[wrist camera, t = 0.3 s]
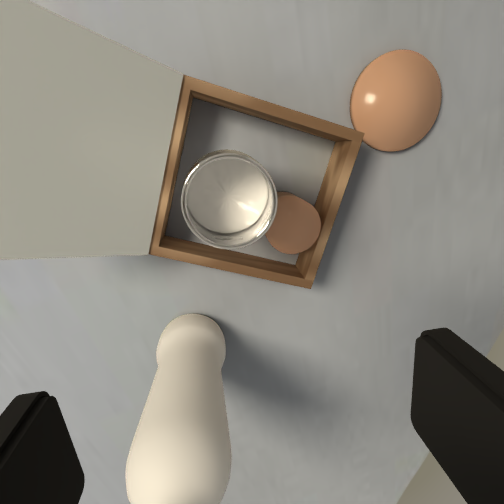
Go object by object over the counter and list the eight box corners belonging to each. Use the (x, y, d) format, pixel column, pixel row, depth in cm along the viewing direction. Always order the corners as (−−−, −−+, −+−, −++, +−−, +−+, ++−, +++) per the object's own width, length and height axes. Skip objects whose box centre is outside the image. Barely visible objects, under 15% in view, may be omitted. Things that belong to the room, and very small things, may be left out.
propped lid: (35, 36, 30) (-150, -83, 15) (187, 84, 33) (165, 26, 17) (21, 212, 35) (-133, 262, 19) (156, 242, 37) (115, 307, 22)
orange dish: (369, 37, 33) (373, 35, 33) (451, 69, 35) (456, 67, 35) (337, 137, 36) (339, 136, 35) (415, 161, 38) (419, 161, 37)
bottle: (157, 362, 42) (41, 808, 14) (164, 306, 40) (43, 698, 11) (219, 367, 43) (232, 784, 15) (229, 313, 41) (268, 682, 13)
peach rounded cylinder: (265, 186, 37) (274, 192, 31) (310, 198, 38) (328, 207, 32) (252, 232, 38) (259, 247, 33) (296, 243, 39) (310, 259, 34)
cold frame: (185, 83, 33) (181, 74, 29) (346, 135, 36) (364, 133, 32) (154, 241, 37) (146, 253, 33) (300, 274, 41) (310, 288, 36)
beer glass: (261, 203, 37) (291, 236, 23) (203, 220, 37) (197, 264, 23) (244, 141, 35) (266, 136, 21) (182, 159, 35) (161, 166, 21)
